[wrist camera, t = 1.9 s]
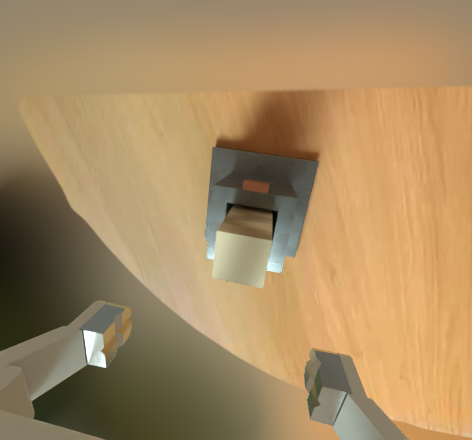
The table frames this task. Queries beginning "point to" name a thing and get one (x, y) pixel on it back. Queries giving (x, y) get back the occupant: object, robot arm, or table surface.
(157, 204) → the table surface
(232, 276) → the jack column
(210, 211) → the jack sleeve
